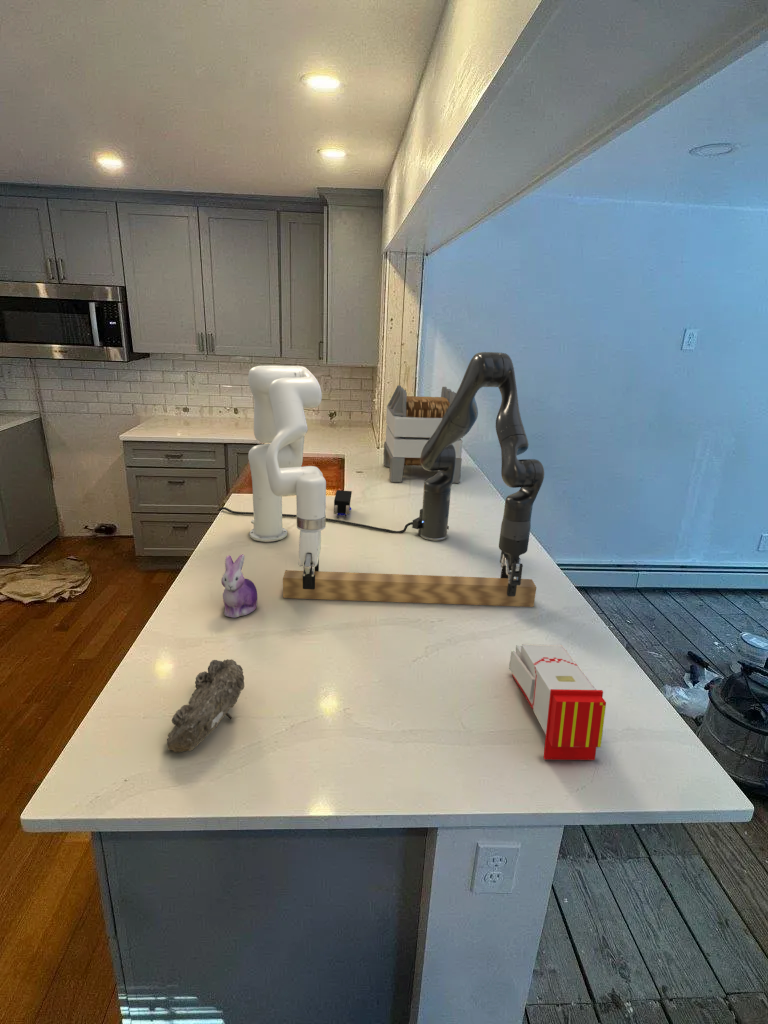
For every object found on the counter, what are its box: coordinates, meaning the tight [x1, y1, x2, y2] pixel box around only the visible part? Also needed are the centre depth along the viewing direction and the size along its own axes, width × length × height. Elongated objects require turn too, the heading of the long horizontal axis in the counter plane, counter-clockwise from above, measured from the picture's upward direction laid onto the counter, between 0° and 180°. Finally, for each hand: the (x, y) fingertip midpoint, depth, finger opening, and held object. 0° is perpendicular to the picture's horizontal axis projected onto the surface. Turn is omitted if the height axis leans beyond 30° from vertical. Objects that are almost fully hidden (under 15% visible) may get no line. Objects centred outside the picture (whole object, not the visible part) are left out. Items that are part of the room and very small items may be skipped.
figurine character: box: [333, 489, 353, 519], centre depth 215 cm, size 7×8×15 cm
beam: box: [282, 569, 537, 608], centre depth 155 cm, size 68×5×6 cm, turn 90°
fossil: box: [166, 658, 245, 754], centre depth 106 cm, size 22×10×15 cm
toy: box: [508, 643, 607, 761], centre depth 112 cm, size 12×13×30 cm
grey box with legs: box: [383, 384, 464, 484], centre depth 268 cm, size 34×33×41 cm
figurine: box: [220, 553, 258, 618], centre depth 143 cm, size 9×10×15 cm
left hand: (310, 580), depth 153 cm, fingers open, 9 cm apart
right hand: (507, 588), depth 155 cm, fingers open, 8 cm apart
